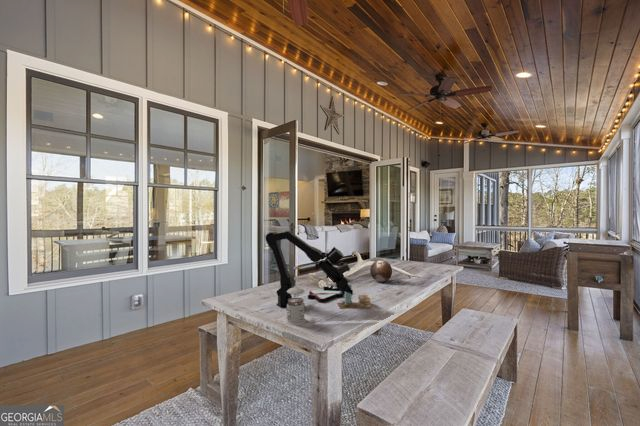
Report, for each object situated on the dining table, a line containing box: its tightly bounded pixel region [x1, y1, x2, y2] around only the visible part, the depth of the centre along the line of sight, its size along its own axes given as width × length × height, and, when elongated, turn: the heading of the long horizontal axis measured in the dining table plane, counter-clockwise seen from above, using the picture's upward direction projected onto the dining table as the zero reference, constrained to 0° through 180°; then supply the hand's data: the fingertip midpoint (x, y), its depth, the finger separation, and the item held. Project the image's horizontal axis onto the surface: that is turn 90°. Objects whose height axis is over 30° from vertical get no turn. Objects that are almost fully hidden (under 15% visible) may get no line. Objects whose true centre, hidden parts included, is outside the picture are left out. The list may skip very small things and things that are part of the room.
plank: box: [344, 283, 352, 304], centre depth 157 cm, size 3×2×11 cm
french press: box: [284, 266, 307, 326], centre depth 139 cm, size 10×12×25 cm
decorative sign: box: [307, 283, 354, 304], centre depth 177 cm, size 18×4×30 cm
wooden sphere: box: [369, 259, 393, 283], centre depth 213 cm, size 15×15×15 cm
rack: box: [336, 294, 372, 310], centre depth 158 cm, size 16×10×6 cm, turn 95°
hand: (350, 290), depth 157 cm, fingers open, 9 cm apart
